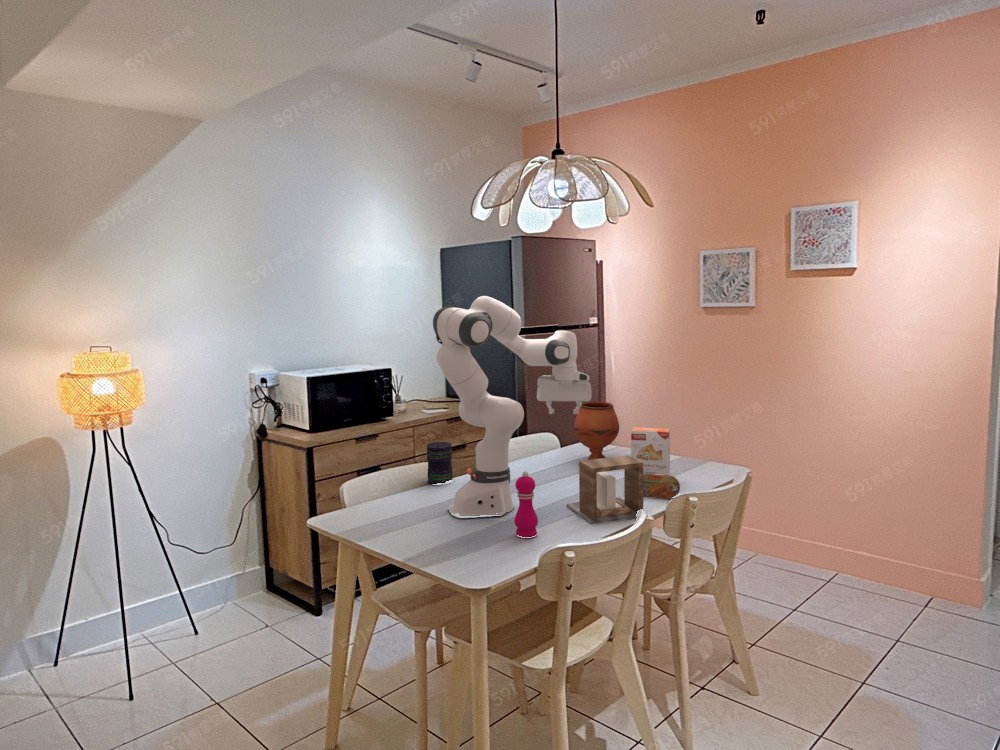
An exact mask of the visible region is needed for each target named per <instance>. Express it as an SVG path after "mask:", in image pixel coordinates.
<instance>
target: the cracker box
mask: <svg viewBox="0 0 1000 750" xmlns="http://www.w3.org/2000/svg"><path fill="white" fill-rule="evenodd" d="M630 447H631V448H630V456H631V457H633V458H635V459H637V460H639V461H641V462H643V475H644V474H647V473H652V474H662V475H671V473H670V471H671V468H670V466H671V465H670V464H671V428H656V427H635V426H633V427H632V428H631V432H630Z"/></svg>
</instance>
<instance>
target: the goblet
mask: <svg viewBox="0 0 1000 750" xmlns="http://www.w3.org/2000/svg"><path fill="white" fill-rule="evenodd" d="M573 432H574V435H575V437H576V439H577V440H578V441H579V442H580V444H582V445H583V446H585V447H586V448H588V449H589V452H590V453H591V454H590V455H589V456H588V457H587V459H586V460H591V459H600V458H607V457H606V456H605V455H604V454H603V453H602V452H603V451H604V448H606V447H608V446H609V445H610V444H612V443H613V442H614V441H615V440H616V439H617V437H618V436H619V433H620V421H619V418H618V416H617V413H616V410H615V409H614V405H613V403H612V402H607V401H597V400H596V401H586V402H582V405H581V407H580V409H579V414H576V417H575V421H574V425H573Z"/></svg>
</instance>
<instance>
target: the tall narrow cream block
mask: <svg viewBox="0 0 1000 750" xmlns="http://www.w3.org/2000/svg"><path fill="white" fill-rule="evenodd" d="M616 492H617V491H616V477H615V476H613V475H612V474H609V473H608V472H607V471H605V472H597V511H603V510H611V509H618V508H622V506H621V505H619V504H618V503H616Z"/></svg>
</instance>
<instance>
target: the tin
mask: <svg viewBox="0 0 1000 750" xmlns="http://www.w3.org/2000/svg"><path fill="white" fill-rule="evenodd" d="M680 484H681V483H680V482H679V480H678V479H677V478H676V477H675V476H673V475H671V474H670V475H662V474H652V473H647V474H644V475H643V497H644V498H650V497H654V498H653V499H659V498H664V499H663V500H671V499H670V498H672V497H674V496H676V495H677V496H678V494H679V493H680V491H681V485H680ZM677 496H676V497H677ZM655 497H656V498H655Z"/></svg>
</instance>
